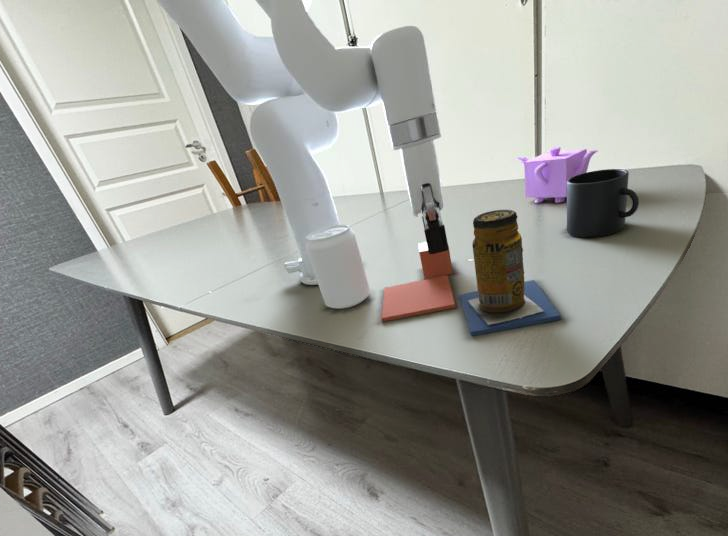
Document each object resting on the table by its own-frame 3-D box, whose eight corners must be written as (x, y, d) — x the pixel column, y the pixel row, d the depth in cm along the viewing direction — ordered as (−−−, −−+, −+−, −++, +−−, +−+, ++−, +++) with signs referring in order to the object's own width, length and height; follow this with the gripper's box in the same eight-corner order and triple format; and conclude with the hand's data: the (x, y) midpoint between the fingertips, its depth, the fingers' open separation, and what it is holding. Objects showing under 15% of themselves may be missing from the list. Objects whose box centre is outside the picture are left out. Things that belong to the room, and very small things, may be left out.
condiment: (516, 289, 58) (510, 203, 52) (543, 312, 51) (540, 215, 44) (468, 302, 58) (456, 217, 52) (488, 327, 50) (477, 232, 44)
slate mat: (471, 336, 51) (470, 332, 50) (460, 298, 61) (459, 294, 61) (560, 319, 49) (560, 315, 49) (534, 283, 60) (533, 279, 59)
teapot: (526, 210, 92) (523, 159, 87) (518, 198, 104) (516, 152, 98) (597, 197, 89) (599, 143, 84) (582, 186, 100) (583, 137, 95)
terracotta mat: (382, 321, 60) (381, 318, 59) (385, 290, 70) (384, 287, 70) (455, 307, 58) (455, 303, 58) (448, 278, 69) (447, 274, 68)
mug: (619, 242, 66) (623, 183, 61) (556, 235, 75) (555, 184, 70) (650, 223, 69) (657, 167, 65) (586, 219, 78) (588, 169, 74)
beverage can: (352, 312, 65) (330, 239, 59) (316, 309, 69) (292, 241, 63) (380, 291, 70) (362, 222, 64) (345, 289, 75) (325, 224, 69)
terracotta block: (424, 279, 70) (419, 252, 68) (423, 269, 75) (418, 243, 72) (452, 273, 70) (448, 245, 67) (450, 264, 74) (445, 237, 71)
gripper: (392, 137, 68) (414, 236, 77) (388, 143, 54) (416, 264, 62) (435, 125, 67) (453, 226, 76) (444, 127, 53) (465, 253, 61)
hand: (436, 243), depth 69 cm, fingers open, 9 cm apart
